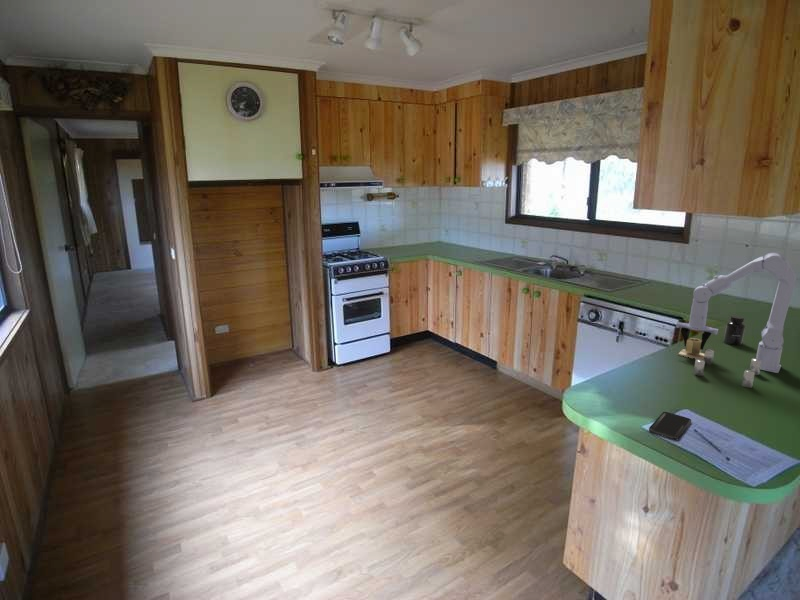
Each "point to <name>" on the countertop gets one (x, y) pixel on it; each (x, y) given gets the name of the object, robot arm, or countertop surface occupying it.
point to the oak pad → (691, 355)
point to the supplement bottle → (734, 331)
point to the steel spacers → (748, 374)
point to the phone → (670, 425)
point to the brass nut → (693, 345)
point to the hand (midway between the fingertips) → (693, 347)
